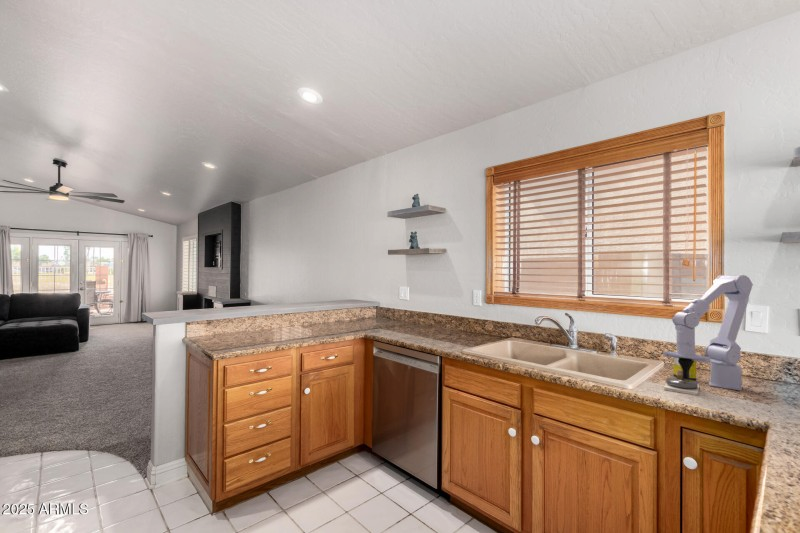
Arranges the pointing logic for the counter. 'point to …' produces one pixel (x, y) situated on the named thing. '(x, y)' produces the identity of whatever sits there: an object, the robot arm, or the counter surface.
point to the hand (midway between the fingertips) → (686, 378)
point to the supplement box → (678, 367)
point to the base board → (681, 389)
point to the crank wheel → (681, 381)
